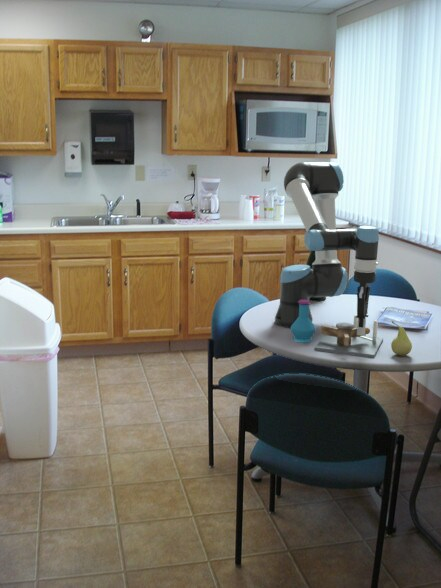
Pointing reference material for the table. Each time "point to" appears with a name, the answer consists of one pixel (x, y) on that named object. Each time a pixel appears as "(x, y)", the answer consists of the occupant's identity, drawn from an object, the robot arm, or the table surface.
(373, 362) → the table surface
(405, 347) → the fruit
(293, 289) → the robot arm
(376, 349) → the stand
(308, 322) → the perfume bottle
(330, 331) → the capstan
